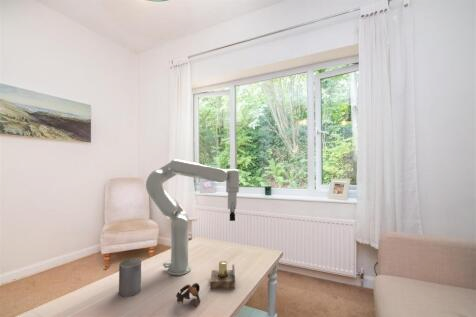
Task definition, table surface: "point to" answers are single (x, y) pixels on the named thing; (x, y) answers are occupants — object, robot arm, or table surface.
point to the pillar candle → (129, 277)
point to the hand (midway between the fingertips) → (232, 220)
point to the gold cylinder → (222, 269)
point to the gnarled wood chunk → (191, 289)
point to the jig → (223, 280)
